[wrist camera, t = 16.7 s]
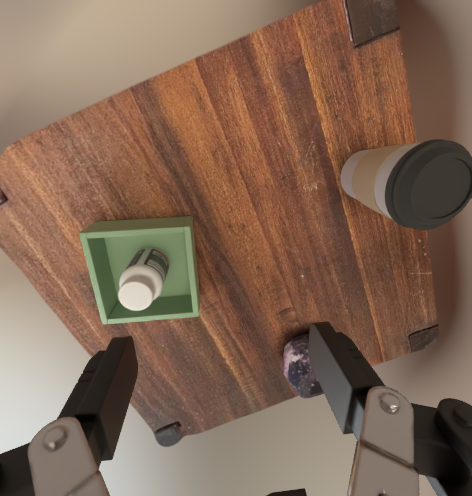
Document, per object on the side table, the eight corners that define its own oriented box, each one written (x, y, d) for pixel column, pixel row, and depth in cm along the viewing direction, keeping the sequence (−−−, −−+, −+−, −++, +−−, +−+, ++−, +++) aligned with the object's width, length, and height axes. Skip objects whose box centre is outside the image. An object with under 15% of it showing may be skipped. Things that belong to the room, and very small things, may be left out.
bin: (115, 303, 43) (102, 324, 38) (96, 221, 38) (78, 233, 33) (200, 296, 44) (199, 316, 39) (192, 215, 39) (190, 226, 34)
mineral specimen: (318, 383, 51) (320, 424, 41) (273, 348, 52) (265, 381, 43) (352, 348, 48) (362, 383, 39) (303, 312, 50) (302, 338, 40)
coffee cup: (336, 212, 41) (402, 246, 27) (328, 151, 38) (399, 154, 24) (393, 195, 41) (489, 221, 27) (390, 133, 38) (497, 126, 24)
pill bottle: (137, 280, 41) (117, 318, 32) (129, 248, 39) (105, 279, 30) (172, 276, 42) (162, 312, 33) (166, 244, 40) (153, 273, 31)
